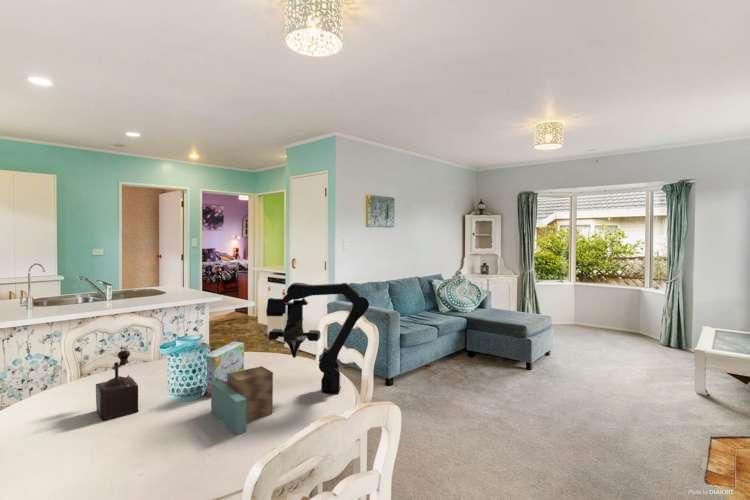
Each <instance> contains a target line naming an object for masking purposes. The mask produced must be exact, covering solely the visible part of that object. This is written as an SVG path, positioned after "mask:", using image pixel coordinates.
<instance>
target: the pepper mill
mask: <svg viewBox="0 0 750 500" xmlns="http://www.w3.org/2000/svg"><path fill="white" fill-rule="evenodd" d="M130 356H131V352H130V351H129V350H127V349H125V350H124V349H123V350H120V351H119V352H118V353H117V354H116V357H117V358H118V359H119V360H120V361H119V362H118V361H116V362H114V364H113V366H112V367H111V369H112V370H114V377H112V378H111V379H109V380H107V381H102V382H97V383H95V403H96V406H95V407H96V410H95V411H96V414H97V416H98V417H99V419H101V421H102V422H104V421H109V420H113V419H118V418H122V417H125V416H129V415H134V414H137V413H139V411H140V410H139V385H138V383H137V382H136V381H135V380H134V378H132V377H131V376H130V374H128V375H126V376H121V375H120V376H119V368H120V367H121V366H125V365H127V364H128V363H130V362H129V360H128V359H129V357H130Z"/></svg>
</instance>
